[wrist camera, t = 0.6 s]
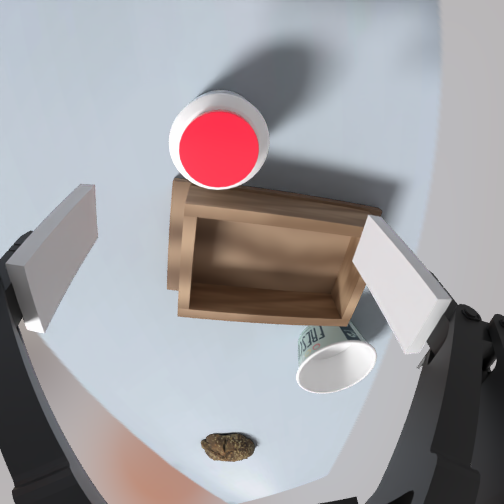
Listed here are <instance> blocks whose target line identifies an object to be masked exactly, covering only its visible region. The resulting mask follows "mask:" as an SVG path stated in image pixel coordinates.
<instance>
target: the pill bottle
mask: <svg viewBox="0 0 504 504" xmlns="http://www.w3.org/2000/svg"><path fill="white" fill-rule="evenodd" d="M269 145H270V139H269V131H268V127H267V124H266V122H265V120H264V118H263V116H262V115H261V113H260V112H259V111H258V109H257V108H256V107H254V106H253V105H252V104H251V103H250V102H249V101H247V100H246V99H245V98H244V97H243V96H241V95H239V94H237V93H235V92H232V91H228V90H213V91H209V92H206V93H204V94H202V95H200V96H198V97H197V98H195V99H194V100H193V101H191V102H190V103H189V104H188V105H186V106H185V107H184V108H183V109H182V110H181V111H180V113H179V114H178V115H177V117H176V118H175V120H174V122H173V124H172V127H171V130H170V134H169V150H170V154H171V157H172V160H173V162H174V164H175V166H176V168H177V169H178V171H179V172H180V173H181V174H182V175H183V176H184V177H185V178H186V179H188V180H189V181H190V182H192V183H194V184H196V185H198V186H200V187H204V188H207V189H214V190H222V189H230V188H233V187H237V186H239V185H241V184H243V183H245V182H247V181H248V180H249V179H251V178H252V177H253V176H254V175H255V174H256V173H257V172H258V171H259V170H260V168H261V167H262V165H263V164H264V162H265V160H266V157H267V155H268V151H269Z"/></svg>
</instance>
